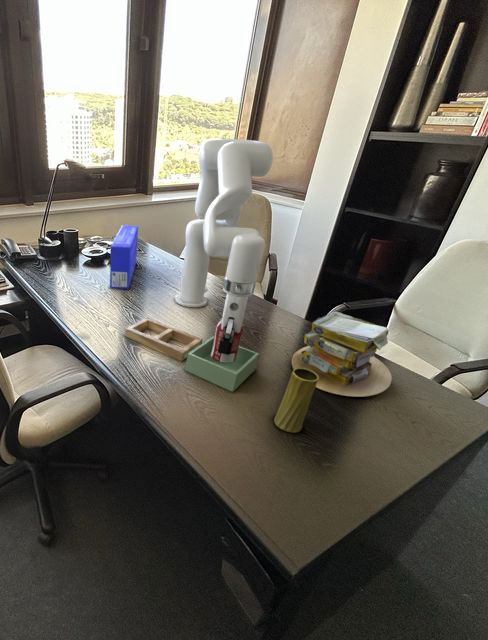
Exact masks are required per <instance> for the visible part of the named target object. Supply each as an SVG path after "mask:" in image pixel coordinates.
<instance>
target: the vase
mask: <svg viewBox="0 0 488 640" xmlns="http://www.w3.org/2000/svg"><path fill="white" fill-rule="evenodd" d="M318 379H319V377H318V375H317V374H316V373H315V372H314V371H312V370H309V369H306V368H295V369H293V370H292V371H291V374H290V377H289V380H288V383H287V386H286V389H285V392H284V394H283V396H282V400H281V402H280V404H279V406H278V409H277V411H276V414H275V416H274V418H273V423H274V424H275V426H276V427H278V429H280V430H282V431H284V432H287V433H291V434H294V433H295V434H296V433H299V432H300V431H301V430H302V429H303V423H304V422H305V418H306V416H307V412H308V409H309V406H310V403H311V400H312V397H313V394H314V392H315V389H316V388H317V387H316V384H317V382H318Z"/></svg>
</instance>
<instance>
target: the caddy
mask: <svg viewBox="0 0 488 640" xmlns="http://www.w3.org/2000/svg"><path fill="white" fill-rule="evenodd" d="M146 329H148V330H151V331H153V332H155V333H157V334H156V335H155V336H151V335H149V334H147V333H144V332H143V331H144V330H146ZM124 337H126V338H128V339H129V340H131V341H135V342H137V343H139V344H141V345H144V346H146V347H148V348H151V349H153V350H155V351H157V352H160V353H161V354H164V355H166V356H168V357H171V358H173V359H175V360H178V361H180V362H183V361H184V360H186V359H187V356H188V353H189V352H191V351H192V350H194V349H195V348H197V347H198V346H199V345H201V344H202V343H203V339H204V338H200V337H199V336H196V335H193V334H190V333H188V332H185V331H183V330H180V329H178V328H175V327H172V326H170V325H167V324H165V323H162V322H161V321H157V320H154V319H153V318H150V317H145V318H143V319H141V320H139V321H137V322H135V323H133V324H131V325H129V326H127V327H125V328H124ZM171 339H172V340H175V341H177V342H180V343H182V344H184V345H185V346H183V347H182V348H180V347H178V346H176V345H173V344H171V343H168V341H170V340H171Z"/></svg>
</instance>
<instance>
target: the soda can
mask: <svg viewBox="0 0 488 640" xmlns="http://www.w3.org/2000/svg"><path fill="white" fill-rule="evenodd" d="M222 318H223V317H221V318H220V319H219V322H218V323H217V324H216V329H215V333H214V342H213V347H212V352H211V358H212V359H213V360H214V361H216V362H218V363H221V364H231V363H233V362H235V360H236V356H237V352H238V347H239V346H240V342H241V340H242V335H243V331H244V329H243V325H242V326H241V330H240V333H237V332H235V331H234V335H233V339H232V341H233V344H232V348H231V352H230V355H226V354H222V353H218V349H219V344H220V339H222V334H223V330H222V329H221V326H222ZM228 321H229V320H228ZM233 323H234V321H233ZM225 329H227V327H226V328H225ZM233 329H234V328H232V330H233ZM225 334H226V331H225ZM230 335H232V333H231V334H230Z"/></svg>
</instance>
